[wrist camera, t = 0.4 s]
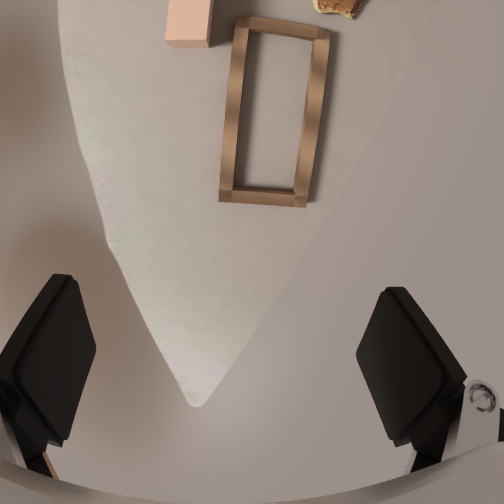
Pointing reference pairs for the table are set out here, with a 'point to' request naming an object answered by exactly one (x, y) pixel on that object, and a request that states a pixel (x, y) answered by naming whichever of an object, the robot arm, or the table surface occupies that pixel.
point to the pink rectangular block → (189, 23)
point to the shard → (338, 6)
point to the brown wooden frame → (309, 121)
